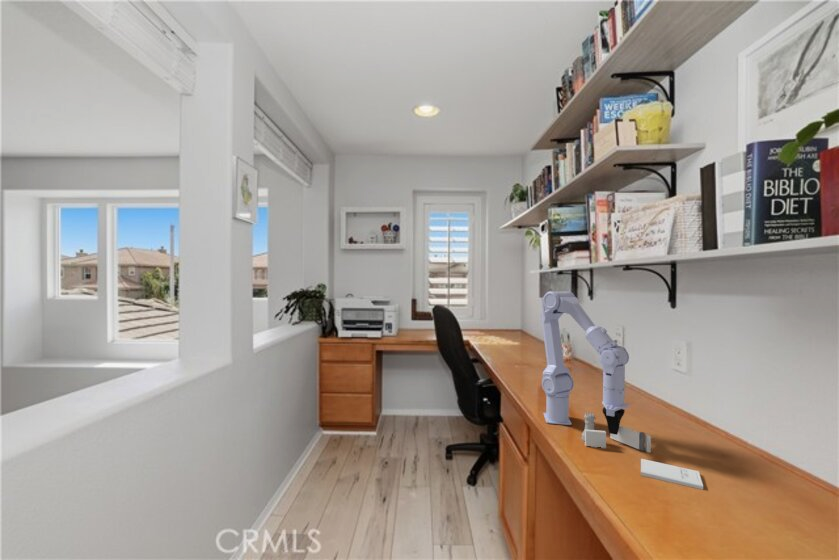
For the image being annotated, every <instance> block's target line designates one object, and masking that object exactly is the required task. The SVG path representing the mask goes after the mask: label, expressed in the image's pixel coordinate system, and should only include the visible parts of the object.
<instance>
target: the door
mask: <svg viewBox="0 0 839 560" xmlns="http://www.w3.org/2000/svg"><path fill="white" fill-rule="evenodd" d="M609 434H610V436H609V437H610V439H612V440H614V441H616V442H619V443H621V444H625V445H628V446H629V447H632V448H635V449H637V450H639V451H643V452H644V451H645V432H643V431H640V432H639V431H637V430H634V429H632V428H628V427H626V426H623V425H621V424H620V425H619V430H618V434H617V435H616V434H611V433H609ZM645 452H646V451H645Z"/></svg>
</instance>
